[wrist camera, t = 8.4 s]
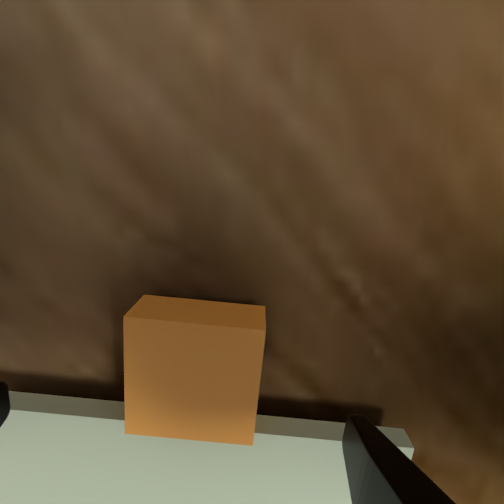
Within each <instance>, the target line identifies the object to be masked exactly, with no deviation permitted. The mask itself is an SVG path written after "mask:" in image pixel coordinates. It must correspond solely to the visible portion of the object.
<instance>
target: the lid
mask: <svg viewBox="0 0 504 504" xmlns="http://www.w3.org/2000/svg"><path fill="white" fill-rule="evenodd" d="M123 334H124V402H120V401H109V400H99V399H88V398H78V397H68V396H57V395H47V394H36V393H26V392H15V391H9V398H10V407H11V408H10V412H9V415H8V417H7V419H6V420H5V422H4V423H3V425H2V426H1V427H0V504H352V501H351V495H350V489H349V484H348V478H347V472H346V466H345V461H344V455H343V449H342V438H343V433H344V428H345V423H340V422H329V421H319V420H308V419H298V418H288V417H277V416H267V415H256V414H257V405H258V396H259V388H260V379H261V370H262V362H263V353H264V344H265V336H266V315H265V306H259V305H248V304H238V303H227V302H217V301H206V300H196V299H185V298H175V297H164V296H154V295H143V296H142V297H141V298H140V299H139V300H138V301H137V303H136V304H135V305H134V306H133V307H132V308H131V309H130V310H129V311H128V312H127V313H126V314H125V315H124V316H123ZM376 427H377V428H378V429H379V430H380V431H381V432H382V433H383V434H384V435H385V436H386V437H387V438H388V439H389V440H390V441H391V442H392V443H394V444H395V445H396V446H397V447H398V448H399V449H400V450H401V451H402V452H403V453H404V454H405V455H406V456H407V457H408V458H409V459H410V460H411V459H412V455H413V452H414V446H413V445H412V443H411V441H410V439H409V437H408V436H407V434H406V432H405V430H404V429H403V428H392V427H382V426H376Z"/></svg>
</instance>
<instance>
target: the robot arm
mask: <svg viewBox="0 0 504 504" xmlns="http://www.w3.org/2000/svg"><path fill="white" fill-rule="evenodd" d="M10 408H11V407H10V398H9V390H8V385H7V383H6V382H4V381H0V427H1V426H2V425H3V423H4V422H5V420H6V419H7V417H8V415H9V412H10ZM342 449H343V455H344V461H345V466H346V472H347V478H348V484H349V489H350V495H351V501H352V504H456V503H454V502H453V501H452V500H451V499H450V498H449V497H448V496H447V495H446V494H445V493H444V492H443V491H442V490H441V489H440V488H439V487H438V486H437V485H436V484H435V483H434V482H433V481H432V480H431V479H430V478H429V477H428V476H427V475H426V474H425V473H423V472H422V471H421V470H420V469H419V468H418V467H417V466H416V465H415V464H414V463H413V462H412V461H411V460H410V459H409V458H408V457H407V456H406V455H405V454H404V453H403V452H402V451H401V450H400V449H399V448H398V447H397V446H396V445H395V444H394V443H392V442H391V441H390V440H389V439H388V438H387V437H386V436H385V435H384V434H383V433H382V432H381V431H380V430H379V429H378V428H377V427H376V426H375V425H374V424H373V423H372V422H371V421H370V420H369V419H368V418H367V417H365V416H364V415H359V414H349V415H348V416H347V418H346V423H345V428H344V433H343V438H342Z"/></svg>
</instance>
